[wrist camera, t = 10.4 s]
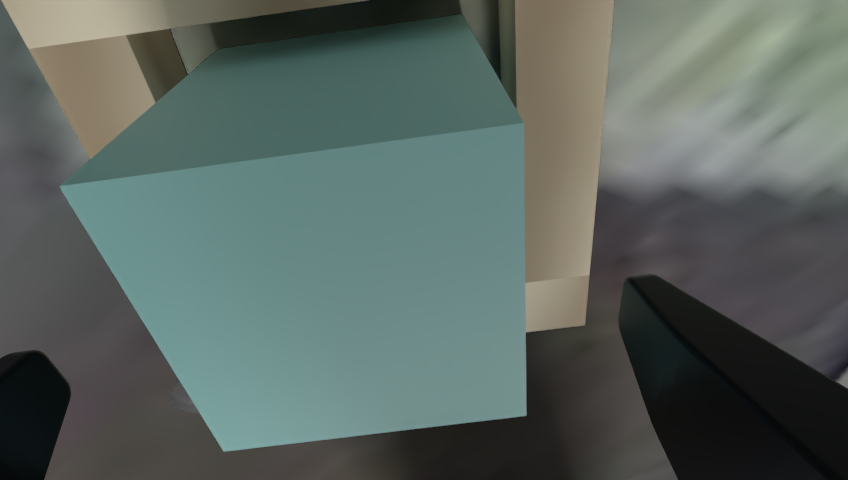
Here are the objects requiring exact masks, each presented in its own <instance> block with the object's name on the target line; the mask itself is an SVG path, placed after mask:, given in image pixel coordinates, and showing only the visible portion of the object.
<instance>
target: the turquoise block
mask: <svg viewBox="0 0 848 480" xmlns="http://www.w3.org/2000/svg"><path fill="white" fill-rule="evenodd" d="M59 187H60V189H61V191H62V192H63V194H64V195H65V197H66V199H67V200H68V202H69V203H70V205H71V207H72V208H73V210H74V211H75V213H76V215H77V216H78V218H79V219H80V221H81V223H82V224H83V226H84V228H85V229H86V231H87V232H88V234H89V236H90V237H91V239H92V240H93V242H94V244H95V245H96V247H97V248H98V250H99V252H100V253H101V255H102V257H103V258H104V260H105V261H106V263H107V265H108V266H109V268H110V269H111V271H112V273H113V274H114V276H115V277H116V279H117V281H118V282H119V284H120V285H121V287H122V289H123V290H124V292H125V294H126V295H127V297H128V298H129V300H130V302H131V303H132V305H133V306H134V308H135V310H136V311H137V313H138V314H139V316H140V318H141V319H142V321H143V322H144V324H145V326H146V327H147V329H148V331H149V332H150V334H151V335H152V337H153V339H154V340H155V342H156V343H157V345H158V347H159V348H160V350H161V351H162V353H163V355H164V356H165V358H166V359H167V361H168V363H169V364H170V366H171V368H172V369H173V371H174V372H175V374H176V376H177V377H178V379H179V380H180V382H181V384H182V385H183V387H184V388H185V390H186V392H187V393H188V395H189V396H190V398H191V400H192V401H193V403H194V405H195V406H196V408H197V409H198V411H199V413H200V414H201V416H202V417H203V419H204V421H205V422H206V424H207V425H208V427H209V429H210V430H211V432H212V433H213V435H214V437H215V438H216V440H217V442H218V443H219V445H220V446H221V448H222V450H223V451H224V452H225V451H233V450H241V449H250V448H258V447H267V446H275V445H284V444H292V443H301V442H309V441H318V440H326V439H335V438H343V437H352V436H360V435H369V434H377V433H385V432H394V431H402V430H411V429H419V428H428V427H436V426H445V425H453V424H462V423H470V422H479V421H487V420H496V419H504V418H513V417H521V416H527V410H526V299H525V189H524V122H523V120H522V119H521V117H520V115H519V113H518V112H517V110H516V108H515V106H514V105H513V103H512V101H511V99H510V98H509V96H508V94H507V92H506V91H505V89H504V87H503V85H502V84H501V82H500V80H499V78H498V77H497V75H496V73H495V71H494V69H493V68H492V66H491V64H490V62H489V61H488V59H487V57H486V55H485V54H484V52H483V50H482V48H481V47H480V45H479V43H478V41H477V40H476V38H475V36H474V34H473V33H472V31H471V29H470V27H469V26H468V24H467V22H466V20H465V18H464V17H463V15H462V14H460V15H453V16H446V17H439V18H432V19H425V20H418V21H411V22H404V23H398V24H391V25H384V26H377V27H370V28H363V29H356V30H349V31H342V32H335V33H328V34H321V35H314V36H307V37H300V38H293V39H286V40H279V41H273V42H266V43H259V44H252V45H245V46H238V47H231V48H224V49H217V50H216V51H215V52H214V53H213V54H211V55H210V56H209V57H208V58H207V59H206V60H205V61H203V62H202V63H201V64H200V65H199V66H198V67H196V68H195V69H194V70H193V71H192V72H191V73H190V74H188V75H187V76H186V77H185V78H184V79H183V80H181V81H180V82H179V83H178V84H177V85H176V86H174V87H173V88H172V89H171V90H170V91H169V92H168V93H166V94H165V95H164V96H163V97H162V98H161V99H159V100H158V101H157V102H156V103H155V104H154V105H152V106H151V107H150V108H149V109H148V110H147V111H146V112H144V113H143V114H142V115H141V116H140V117H139V118H137V119H136V120H135V121H134V122H133V123H132V124H131V125H129V126H128V127H127V128H126V129H125V130H124V131H122V132H121V133H120V134H119V135H118V136H117V137H115V138H114V139H113V140H112V141H111V142H110V143H109V144H107V145H106V146H105V147H104V148H103V149H102V150H100V151H99V152H98V153H97V154H96V155H95V156H93V157H92V158H91V159H90V160H89V161H88V162H87V163H85V164H84V165H83V166H82V167H81V168H80V169H78V170H77V171H76V172H75V173H74V174H73V175H72V176H70V177H69V178H68V179H67V180H66V181H65V182H63V183H62V184H61V185H60V186H59Z"/></svg>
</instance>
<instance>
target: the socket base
mask: <svg viewBox="0 0 848 480" xmlns="http://www.w3.org/2000/svg"><path fill="white" fill-rule="evenodd" d="M361 1H368V0H2V2H3V4H4V6H5V8H6V9H7V11H8V13H9V15H10V17H11V18H12V20H13V22H14V24H15V26H16V27H17V29H18V31H19V33H20V35H21V36H22V38H23V40H24V42H25V43H26V45H27V47H28V49H29V51H30V52H31V54H32V56H33V58H34V60H35V61H36V63H37V65H38V67H39V69H40V70H41V72H42V74H43V76H44V77H45V79H46V81H47V83H48V85H49V86H50V88H51V90H52V92H53V94H54V95H55V97H56V99H57V101H58V103H59V104H60V106H61V108H62V110H63V111H64V113H65V115H66V117H67V119H68V120H69V122H70V124H71V126H72V128H73V129H74V131H75V133H76V135H77V137H78V138H79V140H80V142H81V144H82V146H83V147H84V149H85V151H86V153H87V154H88V156H89V158H90V159H91V158H92V157H93V156H95V155H96V154H97V153H98V152H99V151H100V150H102V149H103V148H104V147H105V146H106V145H107V144H109V143H110V142H111V141H112V140H113V139H114V138H115V137H117V136H118V135H119V134H120V133H121V132H122V131H124V130H125V129H126V128H127V127H128V126H129V125H131V124H132V123H133V122H134V121H135V120H136V119H137V118H139V117H140V116H141V115H142V114H143V113H144V112H146V111H147V110H148V109H149V108H150V107H151V106H152V105H154V104H155V103H156V102H157V101H158V100H159V99H161V98H162V97H163V96H164V95H165V94H166V93H168V92H169V91H170V90H171V89H172V88H173V87H174V86H176V85H177V84H178V83H179V82H180V81H181V80H183V79H184V78H185V77H186V76H187V73H186V71H185V68H184V66H183V63H182V61H181V58H180V55H179V53H178V50H177V48H176V45H175V43H174V40H173V38H172V35H171V33H170V30H169V29H172V28H179V27H186V26H193V25H200V24H207V23H214V22H221V21H228V20H235V19H242V18H249V17H256V16H263V15H270V14H277V13H284V12H291V11H298V10H305V9H312V8H319V7H326V6H333V5H340V4H347V3H354V2H361ZM498 4H499V35H500V66H501V84H502V85H503V87H504V89H505V91H506V92H507V94H508V96H509V98H510V99H511V101H512V103H513V105H514V106H515V108H516V110H517V112H518V113H519V115H520V117H521V119H522V120H523V122H524V189H525V299H526V332H534V331H542V330H550V329H558V328H566V327H574V326H583V325H585V319H586V308H587V297H588V285H589V274H590V263H591V252H592V241H593V230H594V219H595V208H596V197H597V186H598V175H599V164H600V153H601V142H602V131H603V120H604V109H605V98H606V87H607V75H608V64H609V53H610V42H611V31H612V20H613V9H614V0H498ZM170 402H171V403H172V405H173V406H174V407H176V408H177V409H179V410H181V411H184V412H188V413H199V411H198V409H197V408H196V406H195V405H194V403H193V401H192V400H191V398H190V396H189V395H188V393H187V392H186V390H185V388H184V387H183V385H182V384H181V382H180V380H179V379H178V380H177V382H176V384H175V386H174V389H173V391H172V393H171V395H170Z"/></svg>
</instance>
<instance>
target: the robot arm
mask: <svg viewBox="0 0 848 480" xmlns="http://www.w3.org/2000/svg"><path fill="white" fill-rule="evenodd" d="M618 323H619V329H620V333H621V336H622V339H623V341H624V344H625V347H626V350H627V353H628V356H629V359H630V362H631V365H632V368H633V371H634V374H635V376H636V379H637V382H638V385H639V388H640V391H641V394H642V397H643V400H644V403H645V406H646V408H647V411H648V414H649V417H650V419H651V422H652V424H653V427H654V429H655V431H656V434H657V436H658V438H659V440H660V442H661V444H662V447H663V449H664V451H665V453H666V455H667V457H668V459H669V461H670V463H671V466H672V468H673V470H674V472H675V474H676V476H677V478H678V480H848V388H846V387H844V386H842V385H841V384H839V383H837V382H836V381H834V380H832V379H831V378H829V377H827V376H826V375H824V374H822V373H821V372H819V371H817V370H816V369H814V368H812V367H810V366H809V365H807V364H805V363H804V362H802V361H800V360H799V359H797V358H795V357H794V356H792V355H790V354H789V353H787V352H785V351H783V350H782V349H780V348H778V347H777V346H775V345H773V344H772V343H770V342H768V341H767V340H765V339H763V338H762V337H760V336H758V335H757V334H755V333H753V332H751V331H750V330H748V329H746V328H745V327H743V326H741V325H740V324H738V323H736V322H735V321H733V320H731V319H730V318H728V317H726V316H724V315H723V314H721V313H719V312H718V311H716V310H714V309H713V308H711V307H709V306H708V305H706V304H704V303H703V302H701V301H699V300H698V299H696V298H694V297H692V296H691V295H689V294H687V293H686V292H684V291H682V290H681V289H679V288H677V287H676V286H674V285H672V284H671V283H669V282H667V281H665V280H664V279H662V278H660V277H659V276H657V275H654V274H646V275H638V276H630V277H628V278H626V279H625V281H624V283H623V287H622V294H621V301H620V308H619V315H618ZM70 397H71V389H70V385H69V383H68V381H67V380H66V379H65V378H64V376H63V375H62V374H61V373H60V372H59V370H58V369H57V368H56V367H55V365H54V364H53V363H52V362H51V361H50V359H49V358H48V357H47V356H46V355H45V354H44V353H42V352H40V351H36V350H31V351H23V352H15V353H11V354H8V355H5V356H4V357H2V358H0V480H44V478H45V475H46V472H47V469H48V466H49V463H50V460H51V457H52V454H53V450H54V447H55V444H56V441H57V438H58V435H59V432H60V429H61V426H62V423H63V420H64V416H65V413H66V410H67V407H68V404H69V401H70Z"/></svg>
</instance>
